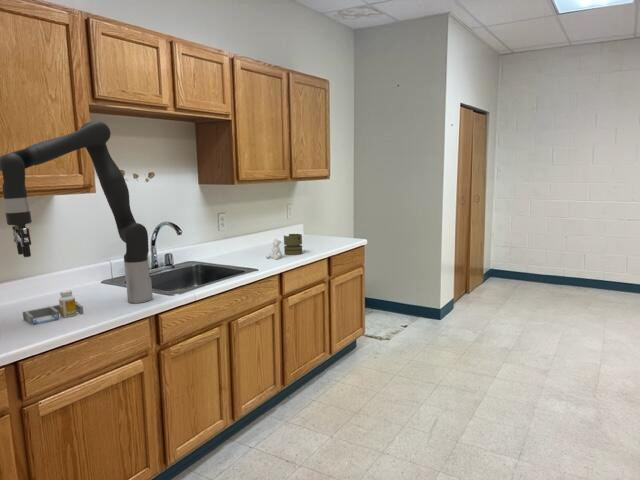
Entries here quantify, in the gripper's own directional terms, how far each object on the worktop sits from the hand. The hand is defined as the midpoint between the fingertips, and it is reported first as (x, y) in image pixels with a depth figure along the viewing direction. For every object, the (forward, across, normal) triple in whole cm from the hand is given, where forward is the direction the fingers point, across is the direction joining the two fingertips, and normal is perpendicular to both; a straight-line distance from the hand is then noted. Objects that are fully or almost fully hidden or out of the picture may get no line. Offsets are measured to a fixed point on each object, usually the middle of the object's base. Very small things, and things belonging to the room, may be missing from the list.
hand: (24, 255), depth 173 cm
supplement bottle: (+26, 0, -12) cm, 28 cm away
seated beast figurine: (+29, +30, -135) cm, 142 cm away
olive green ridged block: (+29, +33, -152) cm, 158 cm away
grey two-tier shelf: (+26, +3, -7) cm, 27 cm away
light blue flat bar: (+26, -3, -3) cm, 26 cm away
